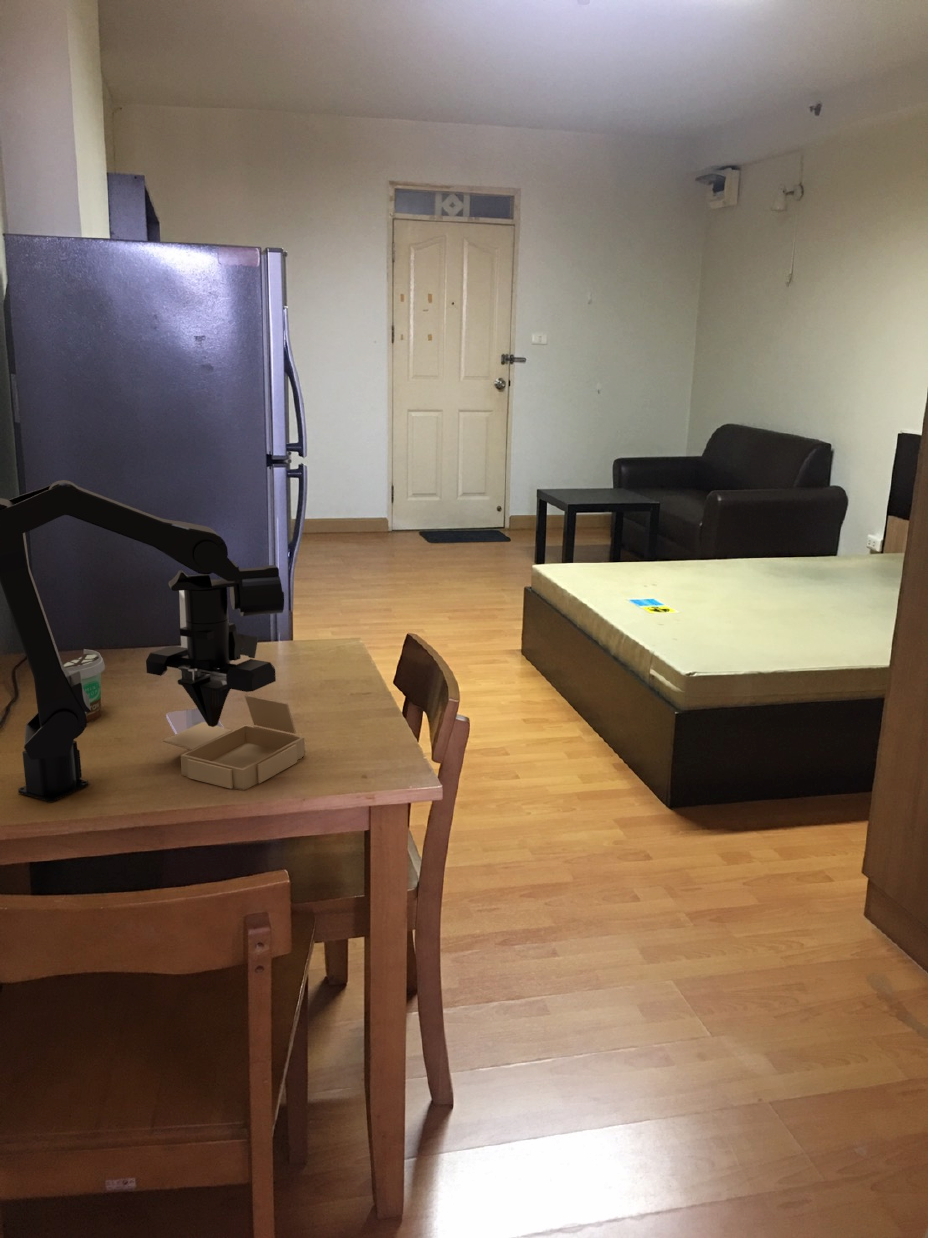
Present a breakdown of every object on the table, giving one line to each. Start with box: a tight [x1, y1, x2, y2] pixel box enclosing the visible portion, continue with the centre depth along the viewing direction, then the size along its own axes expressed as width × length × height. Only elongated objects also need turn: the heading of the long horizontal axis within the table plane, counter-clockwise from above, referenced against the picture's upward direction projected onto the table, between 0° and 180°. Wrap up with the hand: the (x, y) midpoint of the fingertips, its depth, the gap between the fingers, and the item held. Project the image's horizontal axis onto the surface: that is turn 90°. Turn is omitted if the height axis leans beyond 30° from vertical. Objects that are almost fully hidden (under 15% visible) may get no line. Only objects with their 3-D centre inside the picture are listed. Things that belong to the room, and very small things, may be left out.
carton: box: [180, 724, 306, 792], centre depth 139 cm, size 15×12×3 cm
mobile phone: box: [165, 707, 225, 735], centre depth 155 cm, size 8×1×15 cm
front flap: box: [244, 694, 297, 735], centre depth 144 cm, size 1×8×6 cm, turn 63°
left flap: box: [162, 722, 233, 751], centre depth 143 cm, size 9×1×6 cm
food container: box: [62, 648, 106, 724], centre depth 156 cm, size 12×6×10 cm, turn 168°
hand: (213, 725), depth 137 cm, fingers closed
